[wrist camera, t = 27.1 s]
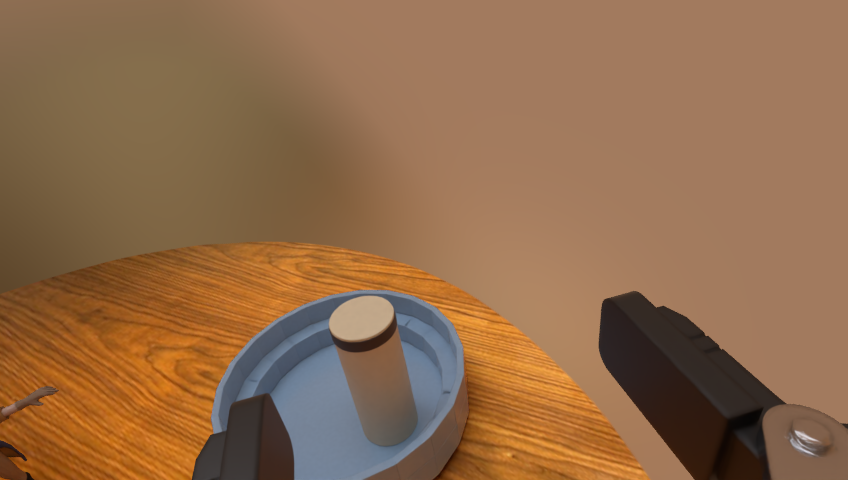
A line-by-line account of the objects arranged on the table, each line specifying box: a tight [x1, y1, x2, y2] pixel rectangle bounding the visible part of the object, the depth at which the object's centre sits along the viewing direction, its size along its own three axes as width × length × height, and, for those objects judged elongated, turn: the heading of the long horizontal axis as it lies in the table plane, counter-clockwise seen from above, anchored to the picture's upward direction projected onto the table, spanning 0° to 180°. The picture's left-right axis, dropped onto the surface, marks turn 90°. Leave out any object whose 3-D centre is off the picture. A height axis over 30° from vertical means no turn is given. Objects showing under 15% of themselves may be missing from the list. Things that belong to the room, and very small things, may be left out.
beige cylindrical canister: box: [329, 296, 418, 446], centre depth 37 cm, size 5×5×12 cm
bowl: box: [211, 290, 469, 480], centre depth 41 cm, size 21×21×6 cm
